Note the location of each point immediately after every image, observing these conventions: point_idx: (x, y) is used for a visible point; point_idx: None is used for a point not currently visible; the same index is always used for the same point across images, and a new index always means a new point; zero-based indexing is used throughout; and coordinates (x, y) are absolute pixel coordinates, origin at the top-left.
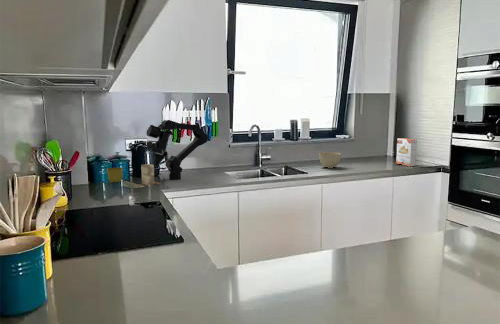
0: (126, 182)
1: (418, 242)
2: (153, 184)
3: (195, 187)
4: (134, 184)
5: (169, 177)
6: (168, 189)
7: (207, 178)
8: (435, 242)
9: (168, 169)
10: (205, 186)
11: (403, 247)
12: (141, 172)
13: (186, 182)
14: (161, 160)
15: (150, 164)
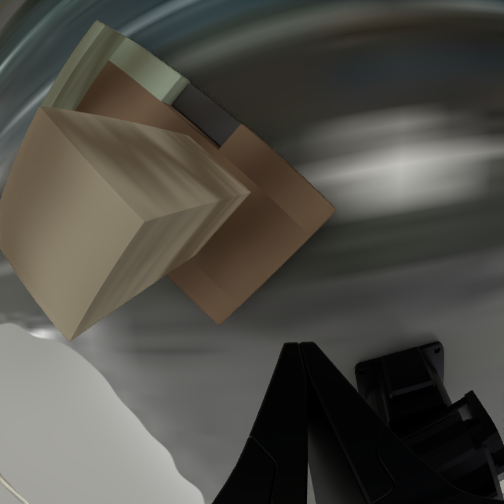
0: (70, 58)
1: (17, 493)
2: None
3: (184, 467)
4: None
5: (387, 375)
6: (113, 354)
7: None
8: (23, 500)
9: (468, 401)
10: (212, 496)
11: (4, 480)
12: (122, 120)
13: None
14: (317, 500)
15: (86, 281)
